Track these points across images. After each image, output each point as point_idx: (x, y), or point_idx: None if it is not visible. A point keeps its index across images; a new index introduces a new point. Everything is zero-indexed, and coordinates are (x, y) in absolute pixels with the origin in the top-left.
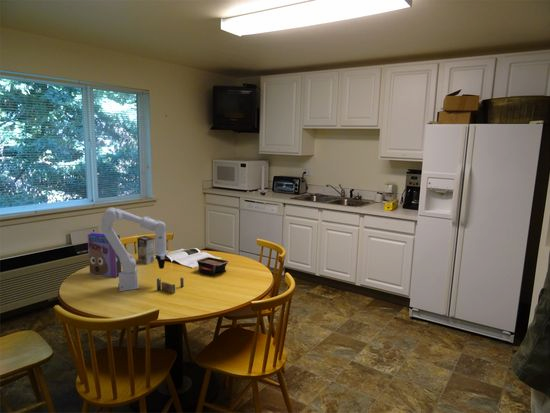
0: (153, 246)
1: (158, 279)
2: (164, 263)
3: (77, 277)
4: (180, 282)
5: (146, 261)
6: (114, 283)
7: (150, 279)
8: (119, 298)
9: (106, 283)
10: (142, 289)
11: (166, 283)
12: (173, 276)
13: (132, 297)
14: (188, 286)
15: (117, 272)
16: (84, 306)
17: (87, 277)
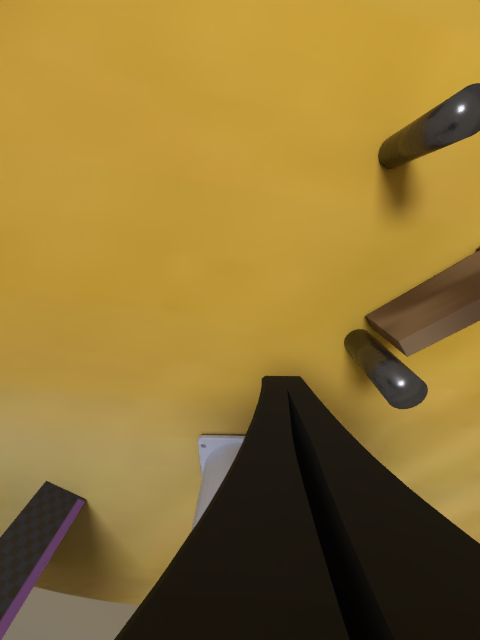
0: None
1: (412, 396)
2: (348, 433)
3: (68, 585)
4: (420, 155)
5: None
6: (163, 508)
7: (140, 367)
8: None
9: (155, 529)
10: None
11: (463, 319)
12: (101, 194)
13: (386, 466)
14: (418, 74)
15: (56, 522)
16: None
17: (71, 567)
